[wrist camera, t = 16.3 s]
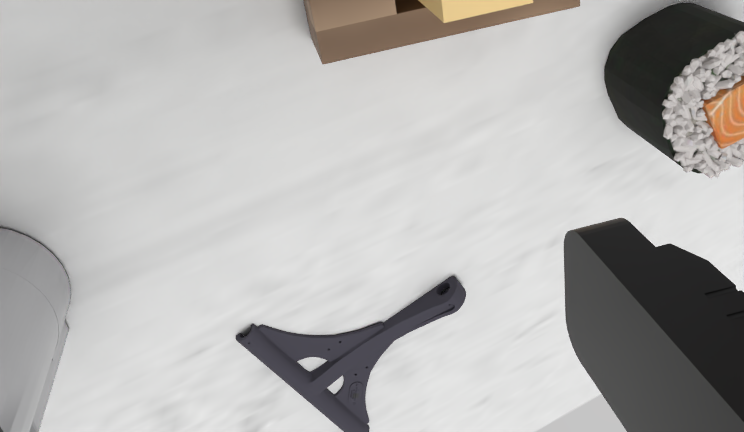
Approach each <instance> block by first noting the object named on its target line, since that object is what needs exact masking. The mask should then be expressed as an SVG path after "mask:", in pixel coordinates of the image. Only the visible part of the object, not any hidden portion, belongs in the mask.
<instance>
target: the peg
mask: <svg viewBox="0 0 744 432" xmlns="http://www.w3.org/2000/svg"><path fill="white" fill-rule="evenodd" d="M418 1H419V2H421V3H422V4H423V5H424V6H425V7H426V8H427V9H429V10H430V11H431V12H432V13H433V14H434V15H435V16H437V17H438V18H439V19H440V20H441V21H442V22H443V23H447V22H451V21H456V20H460V19H465V18H469V17H473V16H478V15H482V14H486V13H491V12H495V11H500V10H504V9H508V8H513V7H517V6H522V5H526V4H530V3H533V0H418Z"/></svg>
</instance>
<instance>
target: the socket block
mask: <svg viewBox="0 0 744 432" xmlns="http://www.w3.org/2000/svg"><path fill="white" fill-rule="evenodd" d="M303 1H304V6H305V10H306V15H307V20H308V24H309V29H310V34H311V38H312V41H313V43H314V45H315V48H316V50H317V52H318V55H319V57H320V59H321V62H322V64H327V63H331V62H336V61H340V60H344V59H349V58H353V57H358V56H362V55H366V54H371V53H375V52H380V51H384V50H389V49H393V48H397V47H402V46H406V45H411V44H415V43H419V42H424V41H428V40H433V39H437V38H442V37H446V36H450V35H455V34H459V33H464V32H468V31H472V30H477V29H481V28H486V27H490V26H494V25H499V24H503V23H508V22H512V21H517V20H521V19H525V18H530V17H534V16H539V15H543V14H547V13H552V12H556V11H561V10H565V9H570V8H574V7H578V6H580V0H533V3H530V4H526V5H522V6H517V7H513V8H508V9H504V10H500V11H495V12H491V13H486V14H482V15H478V16H473V17H469V18H465V19H460V20H456V21H451V22H447V23H443V22H442V21H441V20H440V19H439V18H438V17H437V16H435V15H434V14H433V13H432V12H431V11H430V10H429V9H427V8H426V7H425V6H424V5H423V4H422V3H421V2H419V1H418V0H303Z"/></svg>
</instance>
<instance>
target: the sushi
mask: <svg viewBox="0 0 744 432" xmlns="http://www.w3.org/2000/svg"><path fill="white" fill-rule="evenodd" d="M605 83H606V87H607V91H608V95H609V97H610V100H611V102H612V104H613V106H614V109H615V111H616V113H617V116H618V118H619V119H620V120H621V121H622V122H623V123H624V124H625V125H626V126H627V127H628V128H630V129H631V130H632V131H634V132H635V133H637V134H638V135H639V136H641V137H642V138H643V139H645V140H646V141H647V142H649V143H650V144H652V145H653V146H654V147H656V148H657V149H658V150H660V151H661V152H662V153H664V154H665V155H666V156H668V157H669V158H671V159H672V160H673V161H675V162H676V163H677V164H679V165H680V166H681V167H683V169H684V171H685V172H690V171H693V172H696V173H704V174H705V175H707V176H708V177H709V178H712V177H713V176H715V177H719V174H720V172H721V171H723V170H724V171H725V170H728V169H729V168H730V166H731V164H732V165H733V166H735V167H740V166H741V165H742V164H743V161H744V22H741V21H738V20H736V19H733V18H730V17H728V16H725V15H722V14H720V13H717V12H715V11H712V10H709V9H707V8H704V7H701V6H699V5H696V4H691V3H679V4H675V5H672V6H669V7H667V8H665V9H663V10H661V11H659V12H657V13H655V14H653V15H651V16H650V17H648V18H646V19H644V20H643V21H642V22H640V23H639V24H637V25H636V26H635V27H633V28H632V29H630V30H629V31H628V32H626V33H625V34H623V35H622V36H621V37H620V38H619V40H618V41H617V43H616V44H615V45H614V47H613V48H612V49H611V51H610V54H609V57H608V60H607V63H606V66H605ZM742 160H743V161H742Z"/></svg>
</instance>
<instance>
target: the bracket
mask: <svg viewBox="0 0 744 432" xmlns="http://www.w3.org/2000/svg"><path fill="white" fill-rule="evenodd" d="M447 287H450V288H449V289H447V290H445V291H444V292H443V294H442V295H440V294H441V292H442V291H443V290H444V289H445V288H447ZM465 297H466V291H465V289H464V288H463V286H462V285H461V284H460V283H459V282H458V280H457V279H456V278H455V277H453V276H451V277H449V278H448V279H446V280H445V281H444V282H442V283H441V284H439V285H438V286H436V287H435V288H433V289H432V290H431V291H429V292H428V293H426V294H425V295H423V296H422V297H420V298H419V299H417V300H416V301H415V302H413V303H412V304H410V305H409V306H407V307H406V308H404V309H403V310H401V311H400V312H399V313H397V314H396V315H394V316H393V317H391V318H390V319H388V320H387V321H385V322H384V323H382V322H381V323H378V324H375V325H372V326H369V327H367V328H364V329H361V330H357V331H353V332H349V333H344V334H339V335H303V334H296V333H290V332H286V331H282V330H278V329H275V328H272V327H269V326H266V325H260V326H259V327H257V326H256V325H254V324H252V325H251V330H250V332H249V334H248V335H247V336H246V337H244V336H243V335H242V334H241V333H240V334H238V335H236V340H237V341H238V342H239V343H240V344H242V345H243V346H244V347H245V348H246V349H247V350H249V351H250V352H251V353H252V354H253V355H254V356H256V357H257V358H258V359H259V360H260V361H262V362H263V363H264V364H265V365H266V366H267V367H269V368H270V369H271V370H272V371H273V372H274V373H276V374H277V375H278V376H279V377H280V378H282V379H283V380H284V381H285V382H286V383H287V384H289V385H290V386H291V387H292V388H293V389H294V390H296V391H297V392H298V393H299V394H300V395H302V396H303V397H304V398H305V399H306V400H307V401H309V402H310V403H311V404H312V405H313V406H314V407H316V408H317V409H318V410H319V411H320V412H322V413H323V414H324V415H325V416H326V417H327V418H329V419H330V420H331V421H332V422H333V423H334V424H336V425H337V426H338V427H339V428H340V429H342V430H343V431H344V432H369V426H368V425H367V423H369V418H368V415H367V411H366V405H365V393H366V386H367V382H368V379H369V375H370V372H371V370H372V369H373V367H374V365H375V364H376V362H377V361H378V359H379V358H380V356H381V355H382V354H383V353H384V351H385V350H386V349H387V348H388V347H389V346H390V345H391V344H392V343H393V342H394V341H395V340H396V339H398V338H400V337H402V336H403V335H405V334H407V333H409V332H411V331H413V330H415V329H417V328H419V327H422V326H424V325H426V324H428V323H430V322H433V321H435V320H437V319H439V318H442V317H444V316H447V315H450V314H453V313H454V312H456V311H458V310H459V309H460V307H461V306H462V305H463V303H464V301H465ZM307 357H320V358H323V359H326V360H328V361H327V362H326V363H324V364H323V365H321V366H320V367H318V368H317V369H315V370H313V371H311V372H308V371H307V370H305V369H304V368H303V367H302V366H301V365H300V364H298V363H297V361H298V360H301V359H304V358H307ZM342 375H343V376H344V383H343V386H342V387H341V389H340V390H339V391H338V392H337V393H336V394H334V395H333V394H332V393H331V392H330V391H329V390H328V389H327V387H328V386H330V385H331V384H332V383H333V382H335V381H336V380H337V379H338V378H339V377H341V376H342Z"/></svg>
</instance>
